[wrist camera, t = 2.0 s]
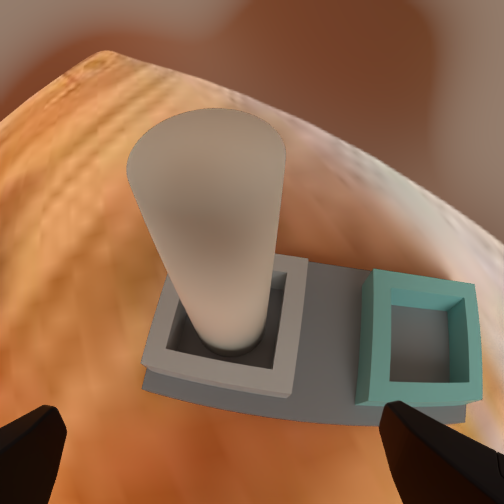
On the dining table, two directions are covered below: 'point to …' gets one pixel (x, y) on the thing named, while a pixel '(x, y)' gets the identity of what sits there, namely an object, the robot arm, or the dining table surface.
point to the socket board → (331, 348)
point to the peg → (214, 217)
